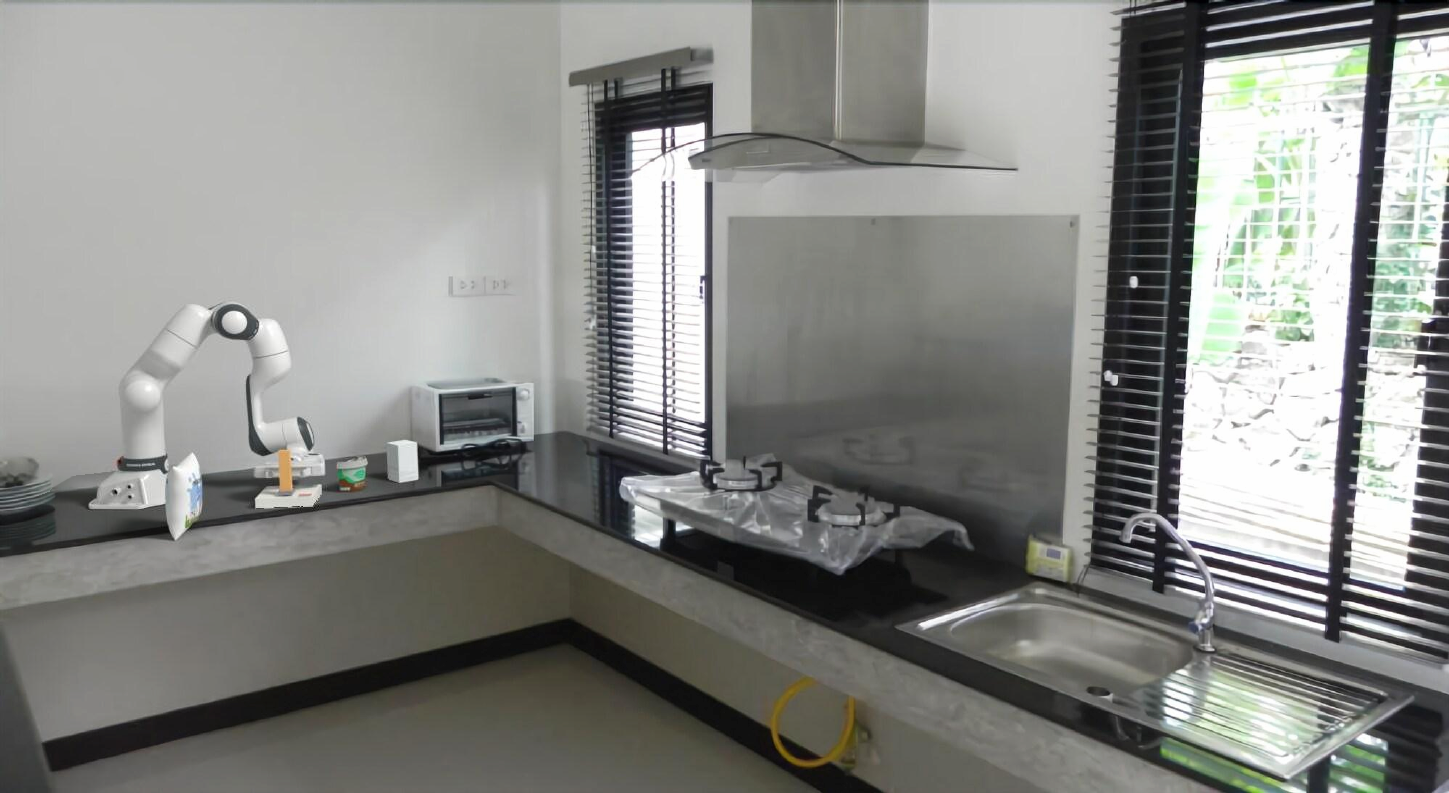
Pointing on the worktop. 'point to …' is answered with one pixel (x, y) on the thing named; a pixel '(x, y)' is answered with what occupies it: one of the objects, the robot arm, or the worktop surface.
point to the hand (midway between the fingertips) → (285, 474)
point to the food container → (352, 474)
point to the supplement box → (402, 461)
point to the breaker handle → (285, 473)
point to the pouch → (183, 495)
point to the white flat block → (289, 497)
